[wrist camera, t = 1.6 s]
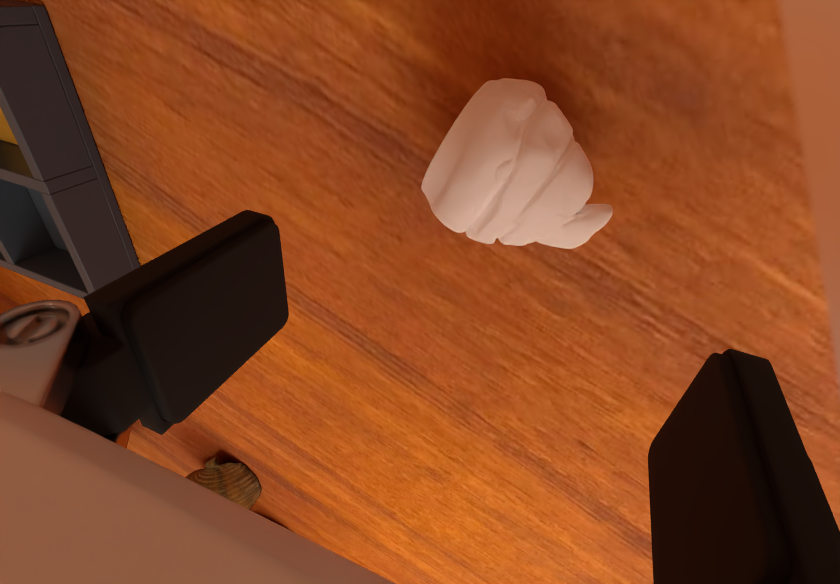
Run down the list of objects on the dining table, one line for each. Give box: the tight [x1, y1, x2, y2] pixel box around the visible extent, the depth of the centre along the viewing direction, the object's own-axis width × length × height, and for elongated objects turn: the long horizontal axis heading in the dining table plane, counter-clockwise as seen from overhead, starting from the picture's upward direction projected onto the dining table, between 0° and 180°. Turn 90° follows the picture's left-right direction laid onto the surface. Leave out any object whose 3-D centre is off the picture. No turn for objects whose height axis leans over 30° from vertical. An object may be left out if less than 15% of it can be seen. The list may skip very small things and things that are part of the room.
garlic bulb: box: [421, 78, 613, 249], centre depth 15 cm, size 6×6×5 cm
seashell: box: [185, 457, 261, 510], centre depth 46 cm, size 10×7×8 cm
